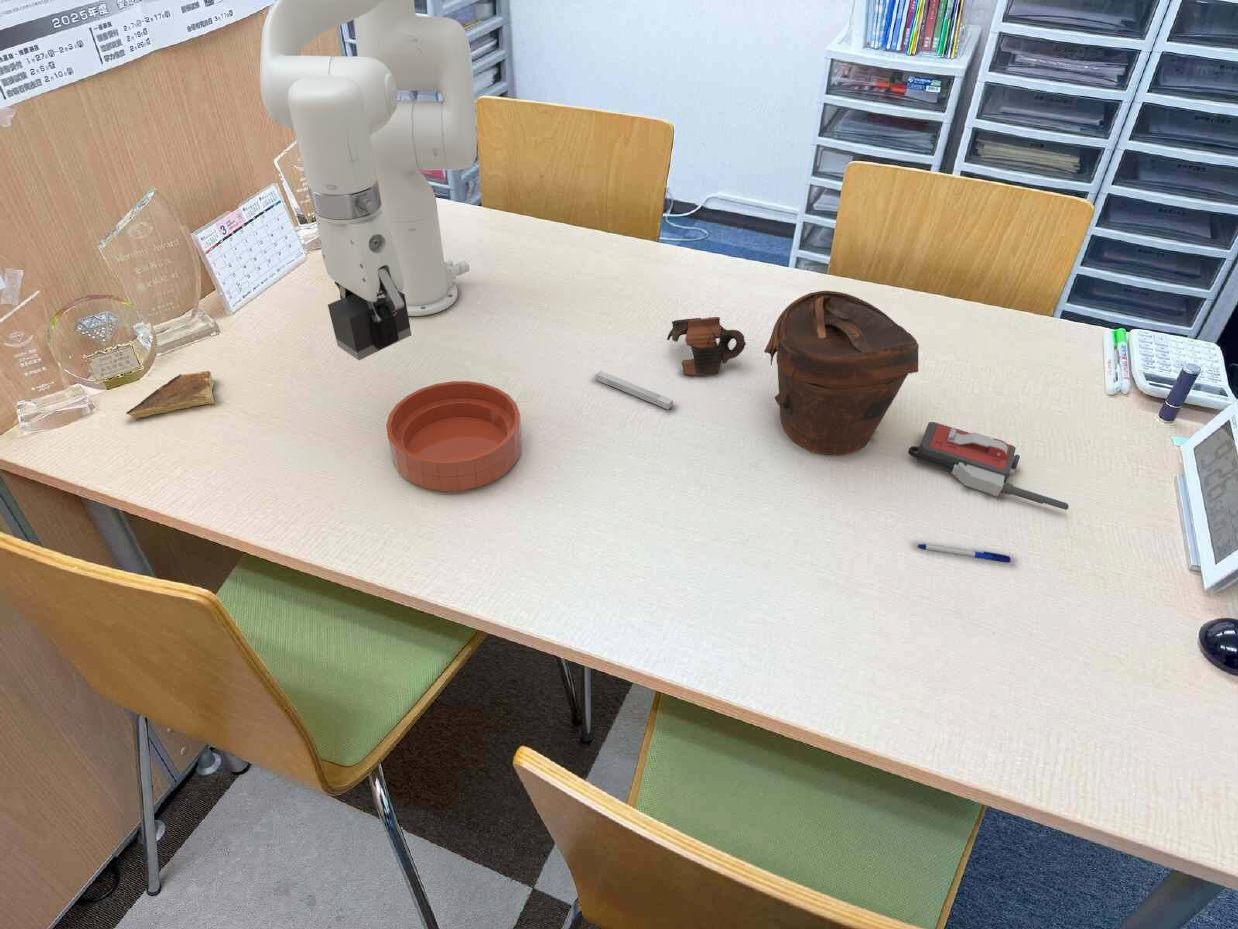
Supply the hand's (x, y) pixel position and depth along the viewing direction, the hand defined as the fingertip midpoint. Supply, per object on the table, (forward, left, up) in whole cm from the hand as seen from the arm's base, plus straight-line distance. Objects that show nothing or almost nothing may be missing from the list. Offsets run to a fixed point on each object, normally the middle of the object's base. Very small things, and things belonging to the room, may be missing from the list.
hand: (374, 334), depth 104 cm
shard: (+18, -24, -14) cm, 33 cm away
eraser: (0, 0, -1) cm, 1 cm away
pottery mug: (-42, +22, -14) cm, 50 cm away
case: (-41, +44, -14) cm, 62 cm away
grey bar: (-28, +20, -14) cm, 37 cm away
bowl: (-2, +12, -14) cm, 18 cm away
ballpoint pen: (-32, +69, -14) cm, 77 cm away
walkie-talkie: (-47, +65, -14) cm, 81 cm away
